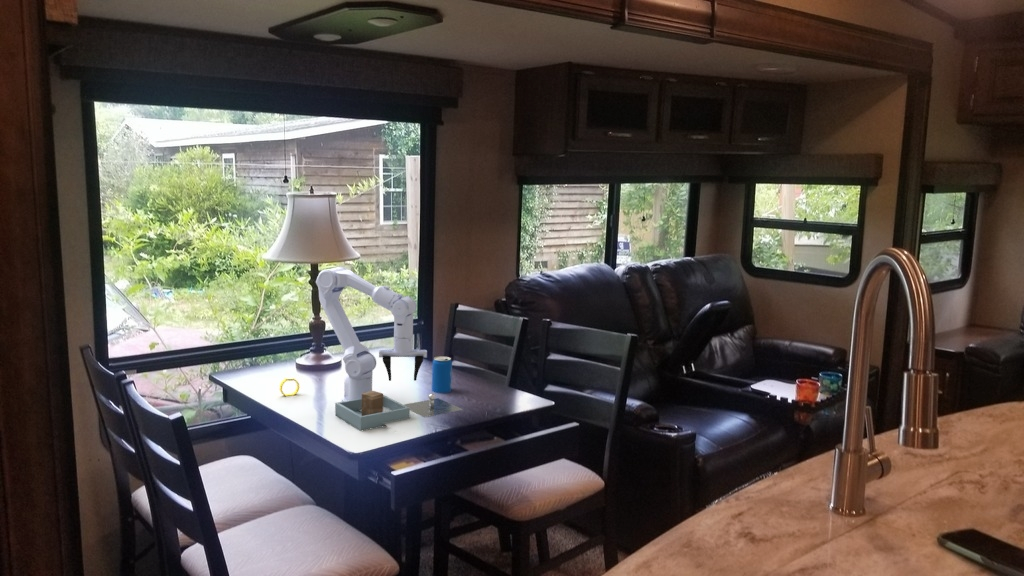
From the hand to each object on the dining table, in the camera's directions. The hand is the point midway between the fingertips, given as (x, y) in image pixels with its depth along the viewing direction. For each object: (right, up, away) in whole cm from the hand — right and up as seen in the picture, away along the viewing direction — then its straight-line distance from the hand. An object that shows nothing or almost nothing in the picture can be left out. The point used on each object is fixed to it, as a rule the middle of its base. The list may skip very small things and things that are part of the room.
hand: (402, 379), depth 227 cm
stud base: (+9, -10, +1) cm, 13 cm away
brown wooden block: (-8, -10, -9) cm, 15 cm away
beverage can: (+10, -7, +20) cm, 24 cm away
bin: (-8, -10, -9) cm, 16 cm away
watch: (-38, -7, +11) cm, 41 cm away
